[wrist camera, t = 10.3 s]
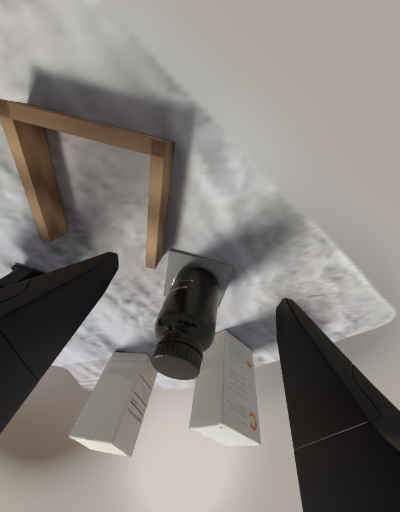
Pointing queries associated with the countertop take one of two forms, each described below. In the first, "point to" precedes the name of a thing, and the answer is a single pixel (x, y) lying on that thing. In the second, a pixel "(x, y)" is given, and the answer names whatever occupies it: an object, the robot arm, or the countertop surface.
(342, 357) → the robot arm
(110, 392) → the supplement box
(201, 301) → the supplement bottle
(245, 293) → the countertop surface
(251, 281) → the countertop surface
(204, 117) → the countertop surface
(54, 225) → the frame
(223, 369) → the small box
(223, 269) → the slate mat
